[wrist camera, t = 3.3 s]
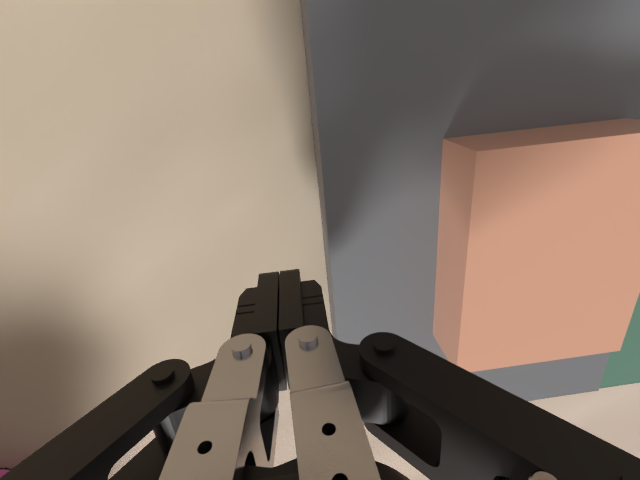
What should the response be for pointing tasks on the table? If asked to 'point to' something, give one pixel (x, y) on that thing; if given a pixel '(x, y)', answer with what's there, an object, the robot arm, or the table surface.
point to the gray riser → (444, 122)
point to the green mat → (625, 356)
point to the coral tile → (538, 243)
